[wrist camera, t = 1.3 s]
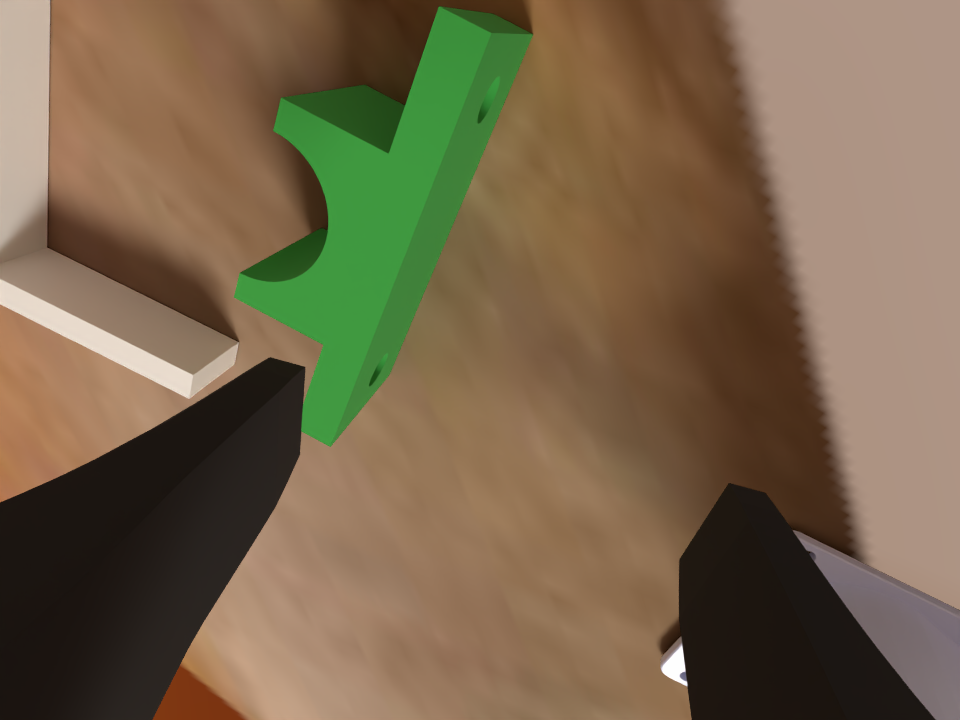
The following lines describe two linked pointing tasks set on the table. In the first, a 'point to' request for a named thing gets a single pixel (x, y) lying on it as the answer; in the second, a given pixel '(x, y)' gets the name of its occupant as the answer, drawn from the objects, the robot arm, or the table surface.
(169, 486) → the robot arm
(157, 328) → the white u-shaped frame
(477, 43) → the pipe clamp
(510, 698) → the table surface
